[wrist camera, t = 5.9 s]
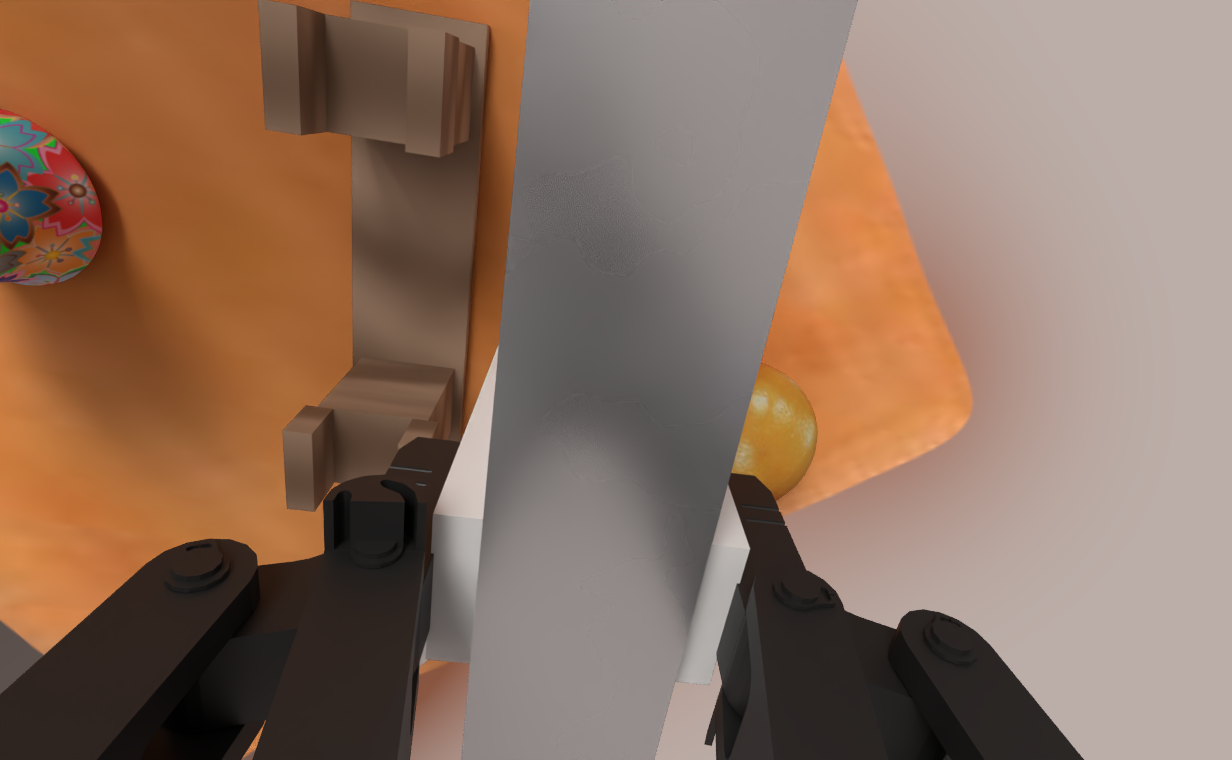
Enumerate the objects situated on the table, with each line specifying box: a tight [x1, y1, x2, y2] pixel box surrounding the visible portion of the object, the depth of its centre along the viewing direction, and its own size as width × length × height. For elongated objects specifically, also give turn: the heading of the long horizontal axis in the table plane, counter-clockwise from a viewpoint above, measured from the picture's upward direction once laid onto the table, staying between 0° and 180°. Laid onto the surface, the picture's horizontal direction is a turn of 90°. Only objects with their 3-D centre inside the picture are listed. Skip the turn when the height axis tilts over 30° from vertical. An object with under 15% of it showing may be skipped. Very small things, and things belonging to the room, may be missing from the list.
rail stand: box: [258, 0, 490, 512], centre depth 29 cm, size 22×6×9 cm, turn 171°
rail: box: [461, 0, 858, 760], centre depth 11 cm, size 24×3×4 cm, turn 171°
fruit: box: [731, 363, 817, 501], centre depth 34 cm, size 8×8×8 cm
